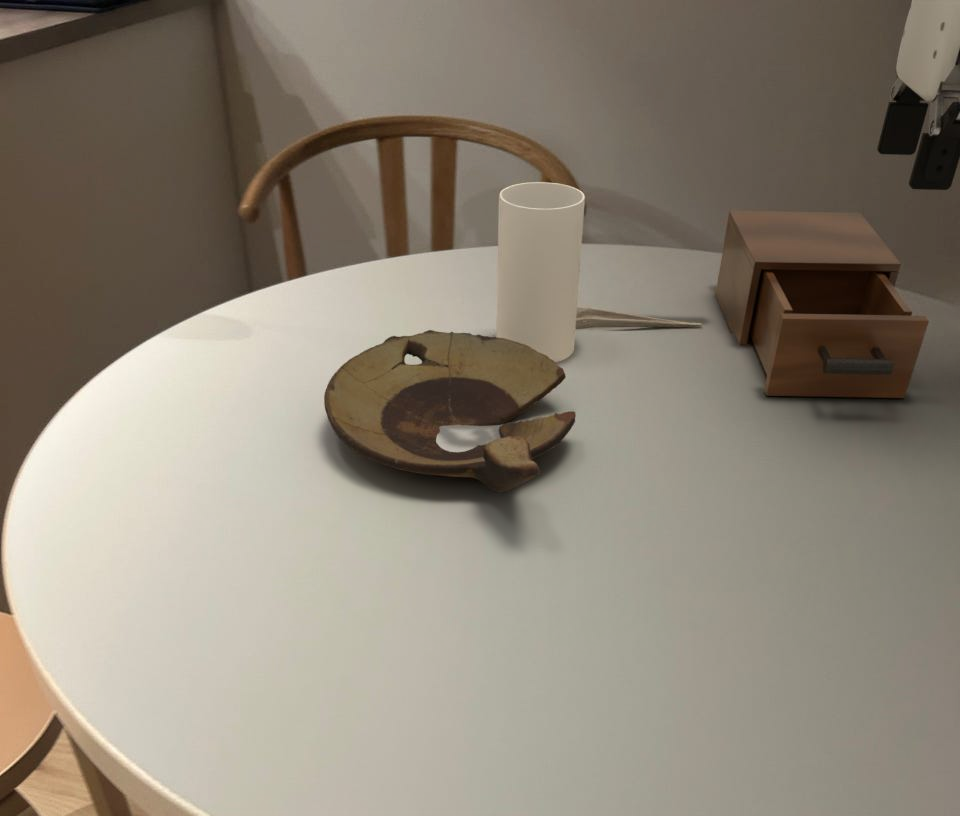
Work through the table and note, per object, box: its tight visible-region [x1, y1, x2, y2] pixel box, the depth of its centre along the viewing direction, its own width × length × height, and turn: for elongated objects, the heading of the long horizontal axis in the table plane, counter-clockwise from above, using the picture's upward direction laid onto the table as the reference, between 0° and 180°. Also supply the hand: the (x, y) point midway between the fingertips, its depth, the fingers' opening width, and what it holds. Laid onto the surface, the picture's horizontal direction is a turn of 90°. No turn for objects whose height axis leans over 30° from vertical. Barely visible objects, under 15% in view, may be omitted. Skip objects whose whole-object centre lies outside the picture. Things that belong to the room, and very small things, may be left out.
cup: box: [495, 181, 586, 363], centre depth 100 cm, size 8×8×16 cm
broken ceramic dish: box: [323, 329, 577, 493], centre depth 87 cm, size 22×30×8 cm
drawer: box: [749, 269, 930, 399], centre depth 97 cm, size 19×13×8 cm
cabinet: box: [715, 210, 902, 347], centre depth 108 cm, size 16×15×10 cm
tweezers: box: [575, 306, 703, 330], centre depth 110 cm, size 18×5×2 cm, turn 91°
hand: (911, 170), depth 83 cm, fingers open, 9 cm apart
